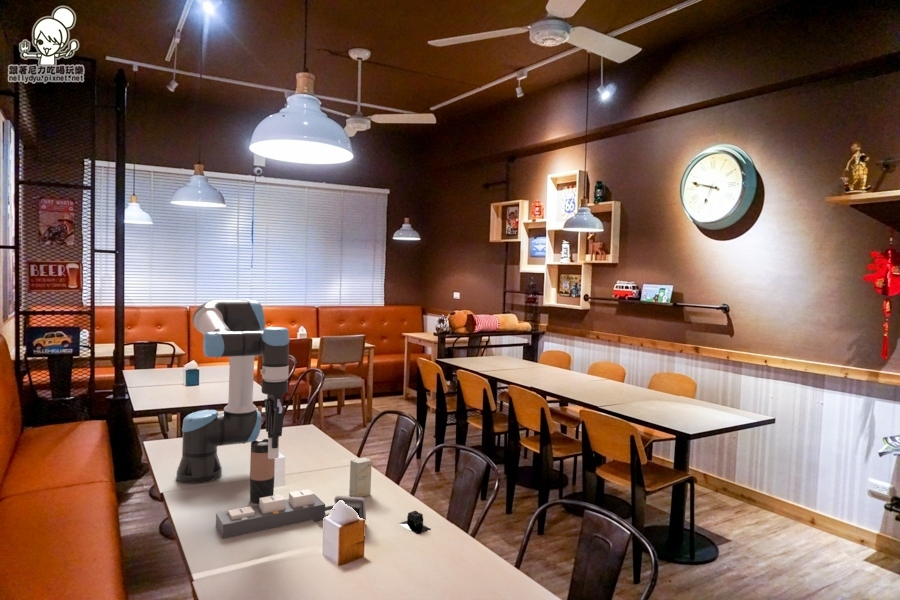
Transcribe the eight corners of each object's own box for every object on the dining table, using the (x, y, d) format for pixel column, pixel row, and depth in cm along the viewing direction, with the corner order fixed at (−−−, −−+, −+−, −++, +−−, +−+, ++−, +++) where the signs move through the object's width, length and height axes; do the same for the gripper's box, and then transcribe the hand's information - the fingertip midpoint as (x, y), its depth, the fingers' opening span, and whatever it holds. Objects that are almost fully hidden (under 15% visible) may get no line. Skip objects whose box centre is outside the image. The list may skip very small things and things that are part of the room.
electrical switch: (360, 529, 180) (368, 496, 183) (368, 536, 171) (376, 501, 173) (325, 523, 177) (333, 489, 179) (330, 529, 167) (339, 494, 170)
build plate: (437, 532, 175) (437, 517, 174) (418, 539, 170) (419, 524, 169) (410, 518, 184) (411, 504, 183) (392, 524, 179) (393, 510, 178)
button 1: (227, 527, 169) (228, 510, 169) (250, 522, 172) (250, 505, 172) (231, 533, 165) (231, 515, 165) (254, 528, 169) (254, 511, 169)
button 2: (259, 514, 174) (259, 497, 174) (280, 510, 177) (280, 493, 177) (263, 519, 170) (263, 502, 170) (284, 515, 174) (285, 498, 173)
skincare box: (356, 498, 196) (357, 463, 195) (348, 494, 199) (349, 460, 198) (371, 494, 200) (372, 459, 200) (363, 490, 203) (364, 456, 203)
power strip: (215, 529, 169) (216, 512, 169) (330, 506, 189) (331, 490, 189) (222, 542, 162) (223, 523, 162) (341, 516, 181) (342, 500, 181)
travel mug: (266, 508, 185) (267, 446, 184) (244, 505, 187) (246, 444, 186) (278, 499, 193) (279, 440, 192) (257, 496, 194) (258, 437, 193)
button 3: (288, 508, 179) (289, 492, 179) (308, 504, 182) (309, 488, 182) (293, 513, 175) (293, 497, 175) (313, 509, 179) (314, 493, 178)
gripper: (256, 376, 175) (254, 453, 176) (268, 384, 164) (266, 466, 165) (280, 375, 179) (279, 450, 180) (294, 382, 168) (292, 462, 169)
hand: (273, 457), depth 173 cm, fingers closed
